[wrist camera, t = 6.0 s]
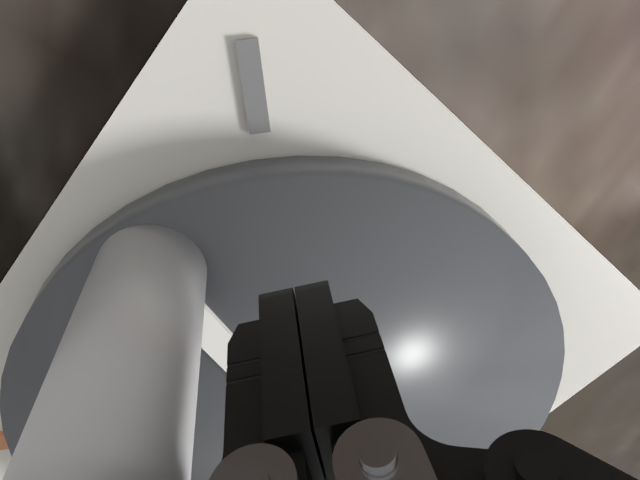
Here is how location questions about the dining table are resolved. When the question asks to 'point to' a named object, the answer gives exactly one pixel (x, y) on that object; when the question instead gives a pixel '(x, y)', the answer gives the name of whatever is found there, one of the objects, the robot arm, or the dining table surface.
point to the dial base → (312, 140)
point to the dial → (242, 306)
